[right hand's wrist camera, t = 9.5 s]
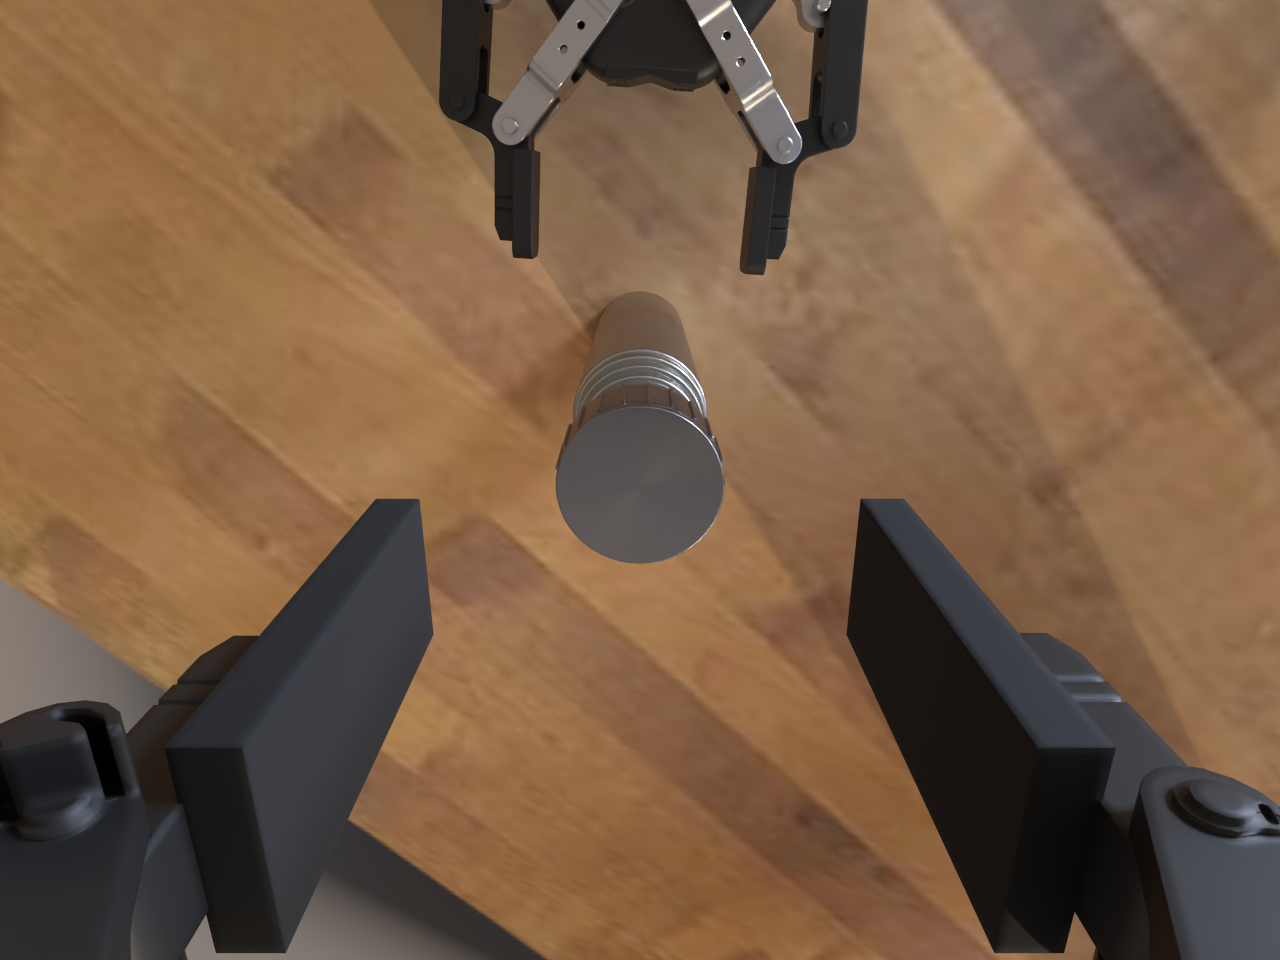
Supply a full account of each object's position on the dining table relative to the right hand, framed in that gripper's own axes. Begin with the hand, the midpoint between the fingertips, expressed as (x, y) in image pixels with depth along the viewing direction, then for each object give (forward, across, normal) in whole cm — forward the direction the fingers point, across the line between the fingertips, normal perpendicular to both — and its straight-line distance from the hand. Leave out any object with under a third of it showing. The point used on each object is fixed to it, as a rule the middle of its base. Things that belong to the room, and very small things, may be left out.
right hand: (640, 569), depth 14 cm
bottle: (+24, 0, 0) cm, 24 cm away
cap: (+4, 0, 0) cm, 4 cm away
